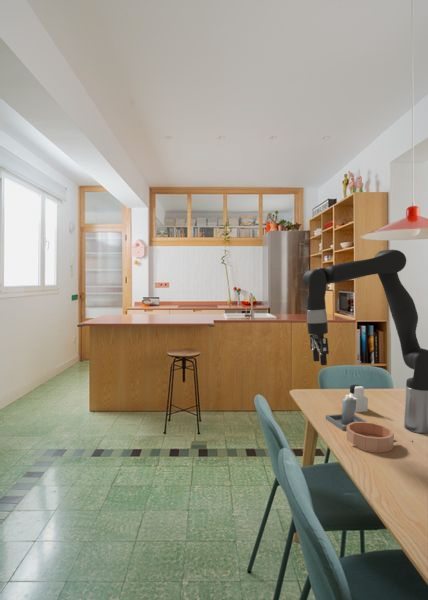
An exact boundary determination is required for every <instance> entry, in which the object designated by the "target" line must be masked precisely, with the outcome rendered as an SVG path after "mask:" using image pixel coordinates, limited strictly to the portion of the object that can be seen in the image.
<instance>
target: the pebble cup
mask: <svg viewBox="0 0 428 600" xmlns="http://www.w3.org/2000/svg"><path fill="white" fill-rule="evenodd" d="M341 401H342V402H341V414H342V421H341V423H342V424H344V425H348V424H350V423H352V422H354V416H355V415H356V414H355V399H353V397H349V396H344V397H343V398H342V399H341Z"/></svg>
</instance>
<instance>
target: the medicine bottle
mask: <svg viewBox="0 0 428 600" xmlns="http://www.w3.org/2000/svg"><path fill="white" fill-rule="evenodd" d="M364 393H365V388H364V386H363V385H360V384H351V385H350V386H349V394H345V396H349V397H353V399H355V413H363V412H368V405H369V404H368V403H369V397H367V396H365V394H364ZM345 396H344V397H345Z"/></svg>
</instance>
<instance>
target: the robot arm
mask: <svg viewBox="0 0 428 600" xmlns="http://www.w3.org/2000/svg"><path fill="white" fill-rule="evenodd" d="M406 265H407V258H406V255H405V253H403V252H402V251H401V250H399V249H383V250H380V251H378V252H376V254H375V256H374V257H371V258H367V259H360V260H359V259H358V260H352V261H347V262H346V261H345V262H341V263H336V264H333V265H330V266H327V267H321V268H314V269H310V270H307V271H305V273H304V274H303V276H302V283H303V285H304V286H305V287H307V288H308V295H307V297H306V324H307V334H308V335H309V343H310V347H309V348H310V350H311V352H312V358H313V362H320V365H321V366H327V365H328V362H327V361H328V360H327V355H329V353H330V351H329V343H328V342H329V339H328V337H324V336H325V335H326V334H328V333H329V329H328V328H329V327H328V313H327V307H326V293H327V285H328V284H337V283H342V282H346V281H350V280H354V279H358V278H363V277H367V276H372V275H377V276H378V278H379V280H380V282H381V285H382V288H383V290H384V295H385V298H386V300H387V303H388V306H389V311H390V314H391V318H392V321H393V322H394V326H395V329H396V332H397V335H398V339H399V343H400V348H401V349H400V350H401V353H402V359H403V361H404V364H405V365H406V366H407V367H408V368H409V369H411V370H413V376H412V377H409V378H407V379H406V382H405V400H404V401H405V403H404V404H405V405H404V424H403V427H404V428H405V430H407V431H410V432H413V433H416V434H417V433H418V434H428V349H425V348H422V347H421V346H420V344H419V341H418V337H417V332H416V331H417V328H418V323H419V322H418V321H419V313H418V312H417V307H416V304H415V301H414V299H413V298H412V296H411V295H410V293H409V292H408V290H407V289H406V288H405V286H404V284H402V281H401V280H400V277H399V274H398V273H399V272H401V271H403V269H404V268H405V267H406Z"/></svg>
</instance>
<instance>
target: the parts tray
mask: <svg viewBox="0 0 428 600" xmlns="http://www.w3.org/2000/svg"><path fill="white" fill-rule="evenodd" d="M325 420H326V421H328V422H329V423H331V424H333V425H334V426H335V427H337V428H338V429H339V430H341V431H346V428H347V425H344V424H342V423H341V421H342V413H340V414H326V415H325ZM354 422H368V421H366V420H364V419H363V418H361V417H360V416H358V415H356V414H355V416H354Z"/></svg>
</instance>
